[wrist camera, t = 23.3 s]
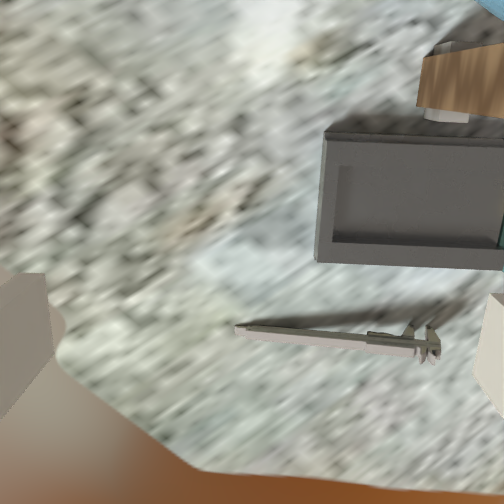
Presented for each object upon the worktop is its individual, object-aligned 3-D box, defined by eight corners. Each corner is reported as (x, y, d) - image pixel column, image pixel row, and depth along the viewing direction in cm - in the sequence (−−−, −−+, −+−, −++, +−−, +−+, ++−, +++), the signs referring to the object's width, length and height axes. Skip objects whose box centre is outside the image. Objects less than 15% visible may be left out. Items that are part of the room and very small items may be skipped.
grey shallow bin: (323, 131, 43) (327, 135, 40) (513, 138, 42) (531, 143, 39) (313, 255, 47) (316, 267, 44) (486, 263, 46) (501, 275, 43)
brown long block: (425, 45, 40) (527, 17, 24) (472, 47, 40) (606, 21, 24) (414, 118, 42) (502, 137, 26) (459, 120, 42) (575, 140, 26)
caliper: (429, 323, 49) (451, 355, 43) (428, 332, 50) (450, 366, 44) (234, 324, 50) (229, 355, 44) (235, 333, 50) (230, 365, 45)
